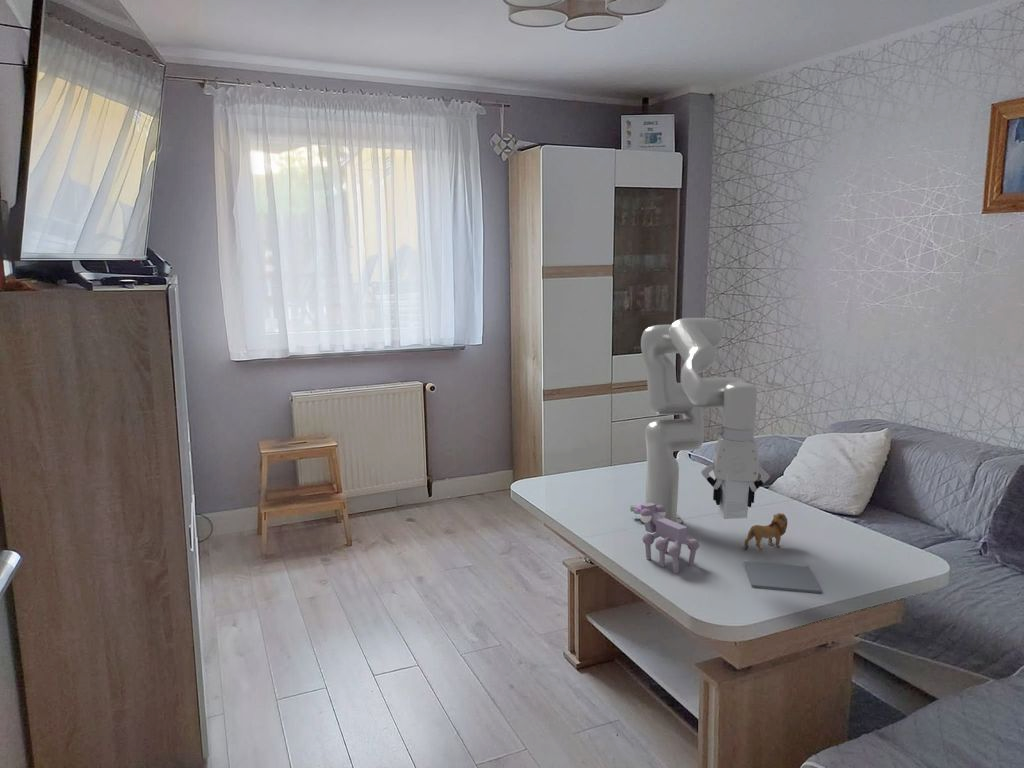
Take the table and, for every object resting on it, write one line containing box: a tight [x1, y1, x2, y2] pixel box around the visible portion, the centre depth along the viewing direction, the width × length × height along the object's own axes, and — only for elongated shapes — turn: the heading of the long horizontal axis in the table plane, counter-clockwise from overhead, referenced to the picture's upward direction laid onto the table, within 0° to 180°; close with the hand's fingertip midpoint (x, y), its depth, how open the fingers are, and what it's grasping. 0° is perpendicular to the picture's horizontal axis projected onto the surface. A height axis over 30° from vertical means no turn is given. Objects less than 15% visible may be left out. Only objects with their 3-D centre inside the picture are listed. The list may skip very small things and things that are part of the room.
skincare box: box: [717, 473, 749, 520], centre depth 170 cm, size 6×4×12 cm
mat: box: [743, 560, 822, 594], centre depth 174 cm, size 16×14×1 cm
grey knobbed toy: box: [635, 503, 700, 574], centre depth 185 cm, size 20×11×14 cm, turn 34°
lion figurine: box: [743, 512, 788, 552], centre depth 193 cm, size 15×5×9 cm, turn 117°
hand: (733, 503), depth 171 cm, fingers closed on skincare box, 6 cm apart
